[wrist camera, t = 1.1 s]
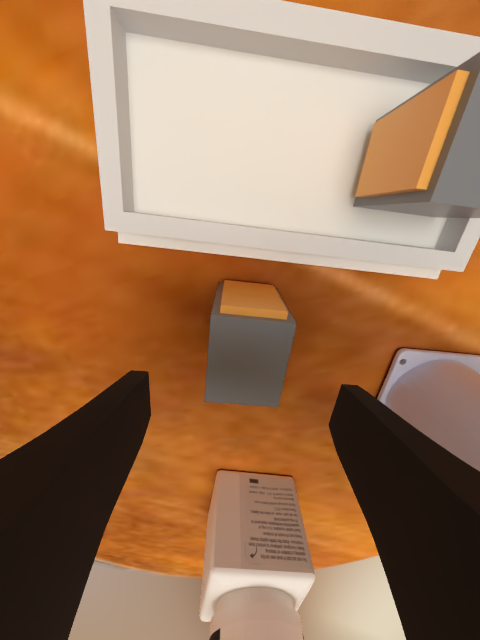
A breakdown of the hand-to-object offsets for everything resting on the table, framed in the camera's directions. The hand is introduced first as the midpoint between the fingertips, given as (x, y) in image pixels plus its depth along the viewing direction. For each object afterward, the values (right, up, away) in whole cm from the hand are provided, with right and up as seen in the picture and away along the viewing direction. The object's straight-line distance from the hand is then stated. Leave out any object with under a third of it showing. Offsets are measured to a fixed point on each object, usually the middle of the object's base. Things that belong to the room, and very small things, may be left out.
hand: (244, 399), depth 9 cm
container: (+1, -15, +17) cm, 23 cm away
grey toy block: (+9, +11, +4) cm, 15 cm away
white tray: (+3, +12, +5) cm, 13 cm away
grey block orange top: (0, +3, +9) cm, 9 cm away
